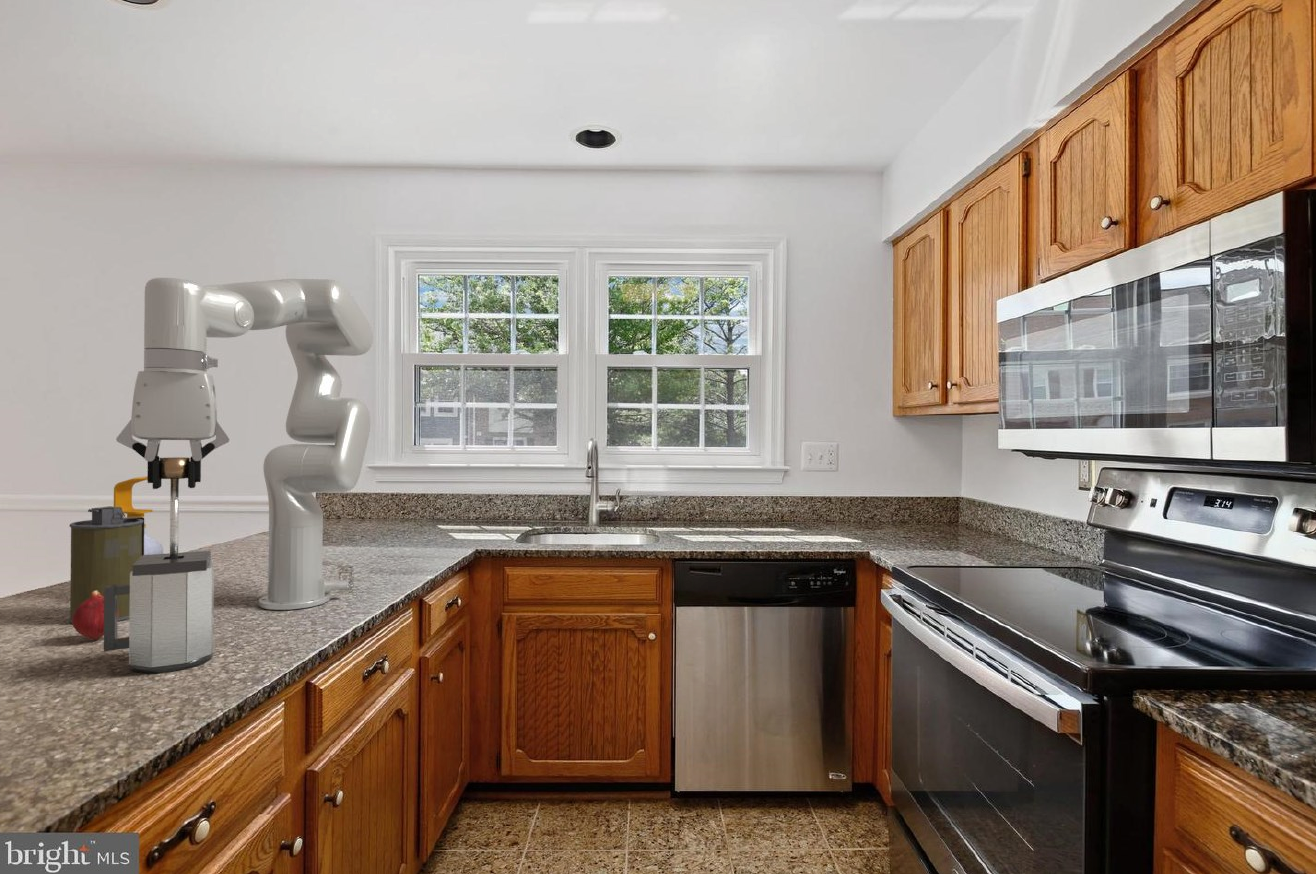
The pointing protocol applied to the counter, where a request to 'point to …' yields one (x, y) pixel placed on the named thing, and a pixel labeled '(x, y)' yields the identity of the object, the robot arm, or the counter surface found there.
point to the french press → (165, 612)
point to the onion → (90, 617)
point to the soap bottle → (135, 511)
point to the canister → (104, 555)
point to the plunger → (174, 494)
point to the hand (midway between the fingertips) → (174, 486)
